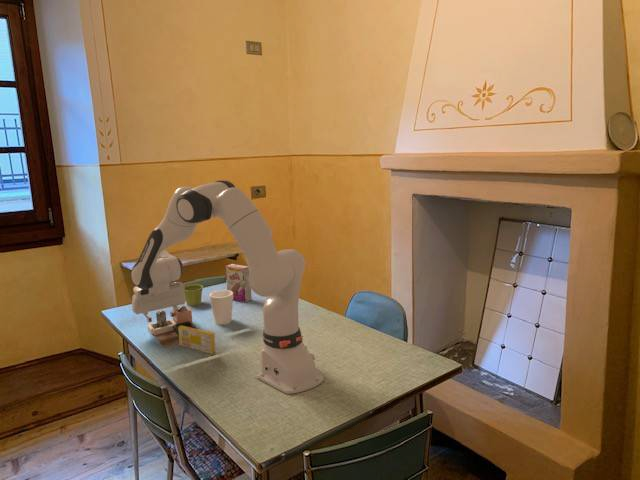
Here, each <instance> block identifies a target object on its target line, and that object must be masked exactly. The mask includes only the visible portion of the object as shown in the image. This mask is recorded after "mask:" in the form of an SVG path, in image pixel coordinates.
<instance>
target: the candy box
mask: <svg viewBox="0 0 640 480" xmlns="http://www.w3.org/2000/svg"><path fill="white" fill-rule="evenodd" d="M178 330H179V343H180V344H179V345H180V346H182V347H186V348H189V349H193V350H195V351H199V352H203V353H207V354H210V355H209V356H210V357H214V356H216V339H215V332H211V331H206V330H203V329H199V328H198V329H195V328H190V327H186V326H182V325H181V326H179V327H178Z"/></svg>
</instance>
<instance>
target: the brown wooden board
mask: <svg viewBox="0 0 640 480" xmlns="http://www.w3.org/2000/svg"><path fill="white" fill-rule="evenodd" d="M192 323H193V322H192ZM192 323H191V322H190V321H188V322H184V323H179V324H176V325H173V330H172V331H168V332H164V333H160V334H156V335H154V334H152V335H153V337H155V338H156V340H157V341H158V342H159V343H160V344H161V345H162V347H163V348H165V349H166V348H170V347H173V346H177V345H180V343H179V330H178V327H179V326H181V325H182V326H186V327H190V328H195V329H199V328H198V327H196V325H195V324H194V323H193V324H192ZM167 326H168V325H167ZM155 329H156V328H155Z"/></svg>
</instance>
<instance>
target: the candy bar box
mask: <svg viewBox="0 0 640 480" xmlns="http://www.w3.org/2000/svg"><path fill="white" fill-rule="evenodd" d="M225 276H226V279H225V280H226V288H227V289H226V290H229V291H232V292H233V301H236V302H241V303H245V304H246V303H247V302H249V301H251V300H253V297H252V288H251V287H250V284H249V267H248V265H242V264H241V265H240V264H236V263H231V264H228V265H225Z"/></svg>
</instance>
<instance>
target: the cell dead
mask: <svg viewBox="0 0 640 480" xmlns="http://www.w3.org/2000/svg"><path fill="white" fill-rule="evenodd" d="M183 311H186V306H185V305H179V306H177V312H178V313H179V312H183Z"/></svg>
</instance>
